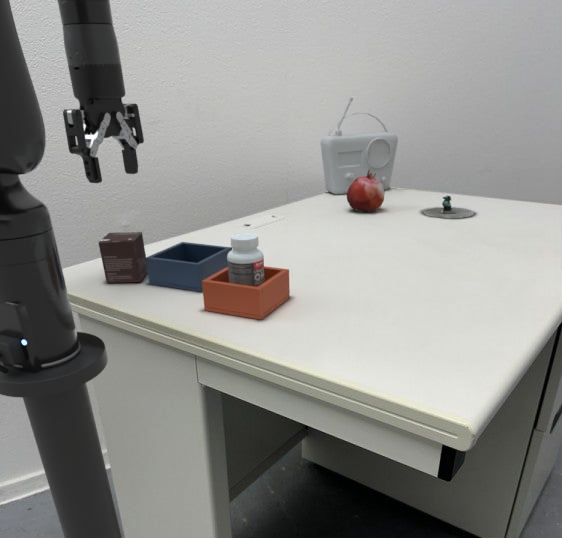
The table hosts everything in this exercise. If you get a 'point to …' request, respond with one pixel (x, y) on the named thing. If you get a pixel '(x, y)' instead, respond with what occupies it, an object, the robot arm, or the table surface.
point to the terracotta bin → (246, 294)
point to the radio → (357, 156)
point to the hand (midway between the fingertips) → (114, 178)
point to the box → (123, 257)
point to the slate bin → (186, 265)
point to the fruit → (365, 193)
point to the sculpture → (448, 210)
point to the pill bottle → (245, 260)
